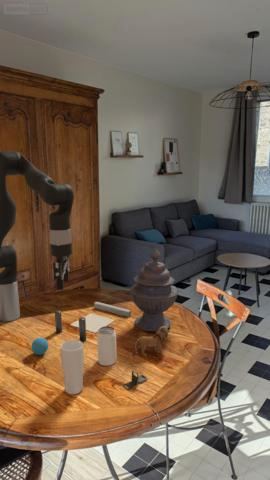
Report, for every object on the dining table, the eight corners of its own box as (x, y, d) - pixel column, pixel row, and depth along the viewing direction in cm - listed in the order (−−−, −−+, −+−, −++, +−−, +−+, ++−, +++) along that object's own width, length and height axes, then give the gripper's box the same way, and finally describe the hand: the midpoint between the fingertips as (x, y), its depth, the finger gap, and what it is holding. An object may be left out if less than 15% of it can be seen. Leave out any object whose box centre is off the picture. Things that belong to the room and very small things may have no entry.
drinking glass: (64, 383, 109) (61, 340, 106) (85, 382, 109) (83, 339, 106) (61, 397, 102) (58, 351, 99) (84, 396, 103) (82, 350, 100)
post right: (78, 340, 136) (77, 319, 134) (82, 337, 138) (81, 316, 136) (83, 342, 134) (82, 320, 133) (87, 339, 137) (86, 318, 135)
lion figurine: (164, 344, 132) (164, 322, 130) (171, 351, 128) (171, 328, 126) (129, 353, 126) (129, 331, 124) (135, 361, 121) (135, 337, 119)
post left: (54, 332, 143) (53, 312, 141) (59, 329, 145) (57, 309, 143) (59, 333, 141) (57, 313, 140) (63, 331, 144) (62, 311, 142)
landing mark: (70, 325, 149) (70, 324, 149) (91, 313, 161) (91, 313, 161) (95, 333, 142) (95, 332, 142) (115, 320, 153) (115, 320, 153)
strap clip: (142, 376, 113) (142, 364, 112) (148, 380, 111) (148, 368, 110) (121, 386, 108) (121, 374, 107) (127, 391, 105) (127, 379, 104)
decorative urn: (120, 330, 142) (124, 247, 136) (138, 314, 160) (143, 240, 155) (167, 341, 135) (174, 254, 129) (180, 323, 153) (187, 246, 147)
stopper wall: (94, 307, 167) (94, 303, 167) (96, 306, 169) (96, 301, 168) (128, 317, 156) (128, 312, 156) (130, 315, 158) (130, 310, 158)
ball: (28, 355, 126) (27, 339, 124) (41, 347, 131) (39, 333, 129) (39, 359, 123) (38, 344, 121) (52, 352, 127) (51, 337, 126)
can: (113, 367, 117) (113, 335, 115) (95, 365, 119) (94, 333, 116) (118, 357, 124) (117, 326, 121) (101, 355, 125) (100, 324, 122)
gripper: (55, 237, 128) (57, 279, 131) (44, 246, 114) (47, 292, 117) (75, 237, 128) (77, 279, 131) (66, 246, 114) (69, 292, 117)
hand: (63, 285), depth 124 cm, fingers open, 8 cm apart
